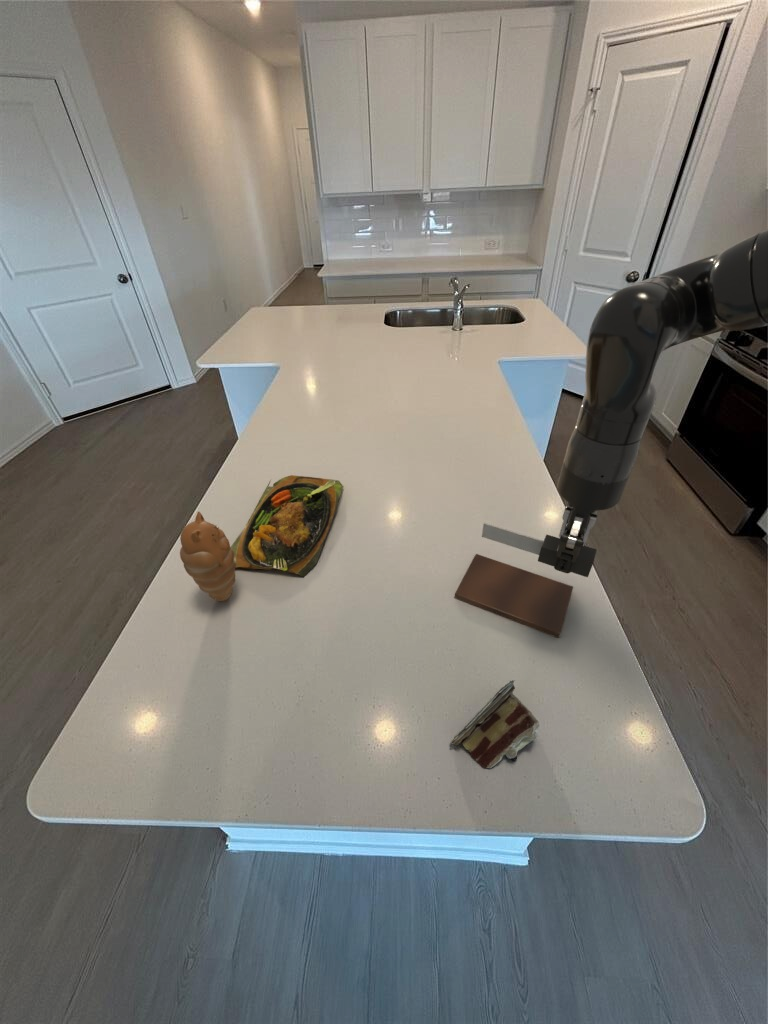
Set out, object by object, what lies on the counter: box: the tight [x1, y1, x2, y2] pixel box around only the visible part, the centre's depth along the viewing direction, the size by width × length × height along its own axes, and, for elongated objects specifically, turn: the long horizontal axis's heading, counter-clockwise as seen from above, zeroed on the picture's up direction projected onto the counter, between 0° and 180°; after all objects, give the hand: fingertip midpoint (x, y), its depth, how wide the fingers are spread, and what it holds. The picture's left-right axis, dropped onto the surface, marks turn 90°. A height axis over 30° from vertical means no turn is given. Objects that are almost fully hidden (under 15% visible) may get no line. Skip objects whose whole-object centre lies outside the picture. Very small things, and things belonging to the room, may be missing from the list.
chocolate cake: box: [449, 679, 540, 769], centre depth 59 cm, size 10×7×12 cm
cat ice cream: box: [179, 511, 236, 602], centre depth 73 cm, size 9×8×18 cm
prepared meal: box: [230, 474, 344, 577], centre depth 93 cm, size 28×4×18 cm
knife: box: [481, 522, 598, 578], centre depth 65 cm, size 16×3×3 cm, turn 61°
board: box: [454, 553, 574, 639], centre depth 78 cm, size 18×11×1 cm, turn 62°
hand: (564, 561), depth 64 cm, fingers closed on knife, 3 cm apart
